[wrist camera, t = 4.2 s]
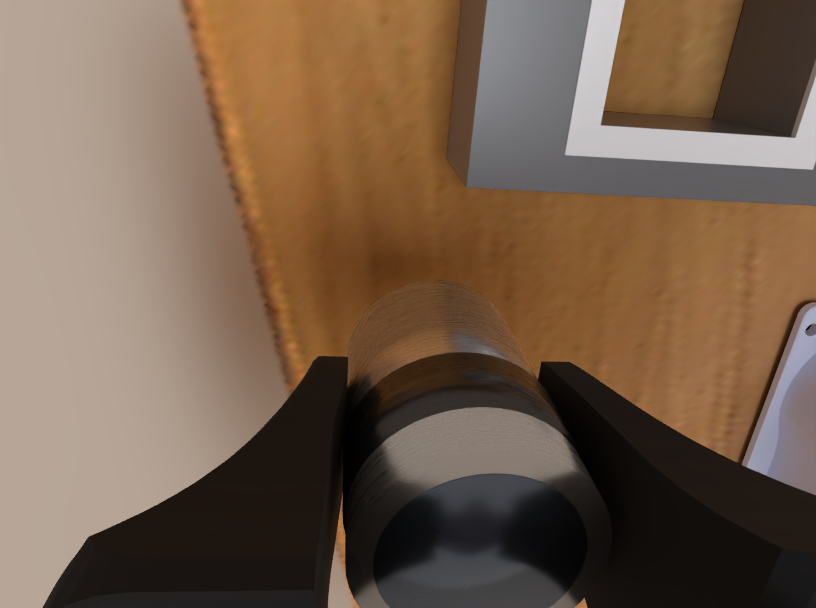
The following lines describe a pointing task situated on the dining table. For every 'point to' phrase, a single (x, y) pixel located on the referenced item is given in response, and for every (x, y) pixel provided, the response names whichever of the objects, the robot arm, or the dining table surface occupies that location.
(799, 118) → the grey hollow block
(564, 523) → the lens
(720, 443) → the dining table surface
